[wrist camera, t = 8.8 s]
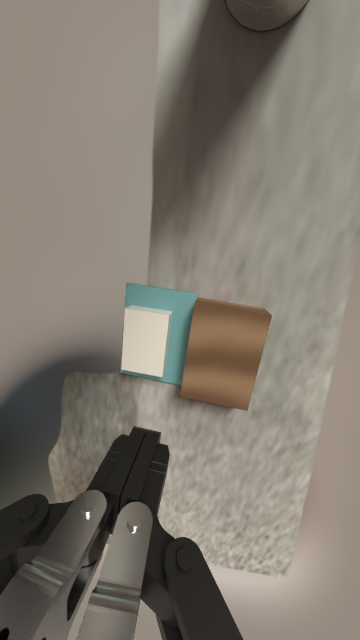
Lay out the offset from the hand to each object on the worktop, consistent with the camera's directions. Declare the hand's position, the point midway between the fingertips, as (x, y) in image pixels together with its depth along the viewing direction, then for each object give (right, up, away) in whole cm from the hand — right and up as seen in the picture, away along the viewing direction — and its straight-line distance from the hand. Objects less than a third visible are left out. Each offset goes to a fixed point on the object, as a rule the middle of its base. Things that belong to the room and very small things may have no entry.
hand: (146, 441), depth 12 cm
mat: (-2, +4, +21) cm, 21 cm away
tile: (-3, +3, +18) cm, 19 cm away
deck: (+8, +3, +20) cm, 21 cm away
